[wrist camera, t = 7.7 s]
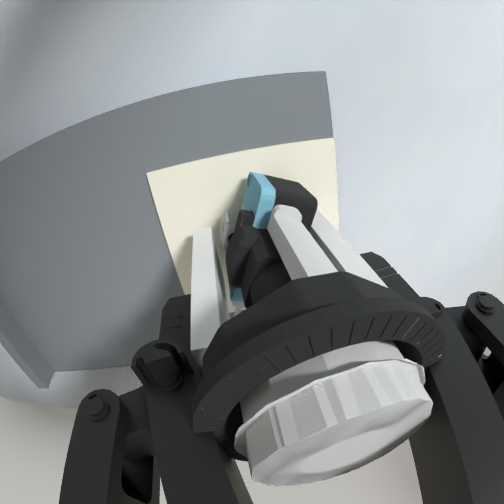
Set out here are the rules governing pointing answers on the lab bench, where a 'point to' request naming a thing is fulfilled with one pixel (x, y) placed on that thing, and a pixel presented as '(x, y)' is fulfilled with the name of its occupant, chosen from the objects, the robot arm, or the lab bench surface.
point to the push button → (308, 350)
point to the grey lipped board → (143, 211)
